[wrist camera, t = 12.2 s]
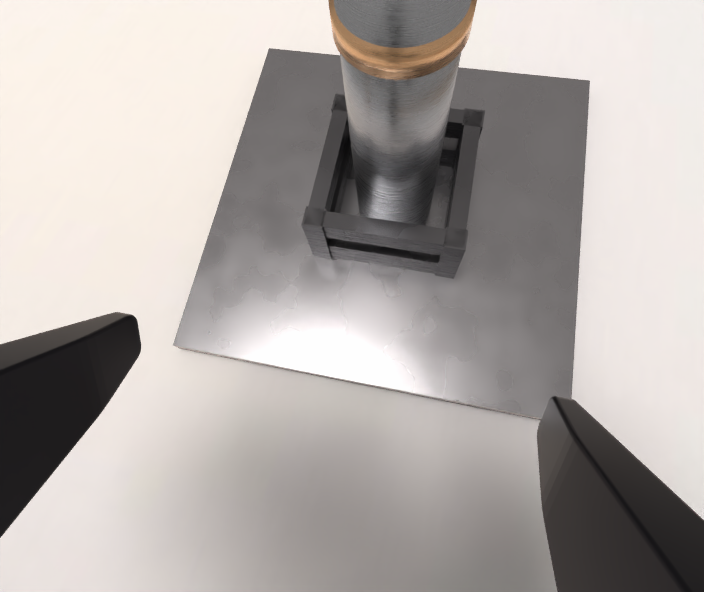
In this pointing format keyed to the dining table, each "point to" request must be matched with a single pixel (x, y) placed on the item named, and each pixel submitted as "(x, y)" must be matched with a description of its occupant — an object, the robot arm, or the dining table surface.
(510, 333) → the collar stand
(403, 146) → the grey metal cylinder
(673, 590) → the robot arm
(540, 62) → the dining table surface
